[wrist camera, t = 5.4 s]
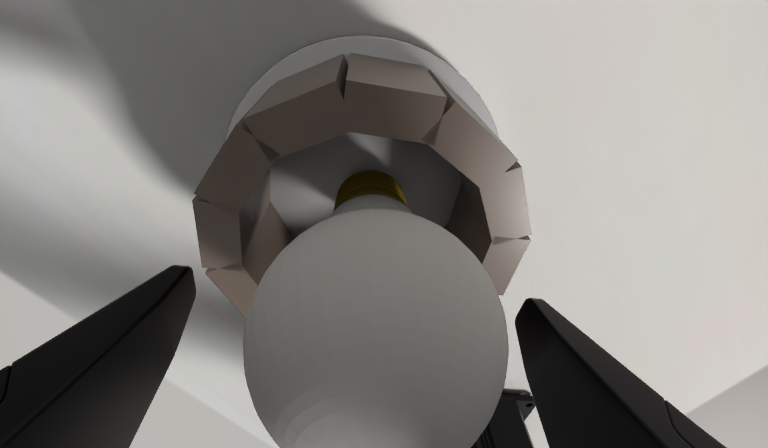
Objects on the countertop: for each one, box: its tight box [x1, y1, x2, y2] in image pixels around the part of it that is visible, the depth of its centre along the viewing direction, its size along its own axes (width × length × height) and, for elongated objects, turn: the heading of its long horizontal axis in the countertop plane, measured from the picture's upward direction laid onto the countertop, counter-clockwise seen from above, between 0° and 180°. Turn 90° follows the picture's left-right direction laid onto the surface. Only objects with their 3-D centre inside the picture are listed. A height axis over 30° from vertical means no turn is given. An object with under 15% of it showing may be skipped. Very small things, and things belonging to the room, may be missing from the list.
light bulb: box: [243, 170, 509, 448], centre depth 10 cm, size 6×6×10 cm
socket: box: [192, 35, 532, 319], centre depth 13 cm, size 11×11×5 cm
